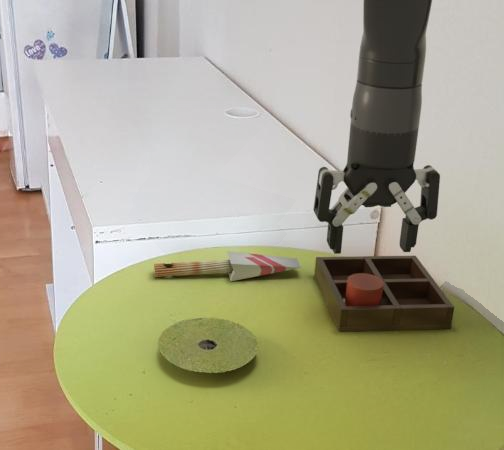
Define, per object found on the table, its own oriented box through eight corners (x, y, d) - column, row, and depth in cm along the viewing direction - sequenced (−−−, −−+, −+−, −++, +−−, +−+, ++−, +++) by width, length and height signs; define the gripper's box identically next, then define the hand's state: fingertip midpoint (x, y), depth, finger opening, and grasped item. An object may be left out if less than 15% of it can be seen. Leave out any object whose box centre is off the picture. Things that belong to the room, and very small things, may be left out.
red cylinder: (373, 300, 97) (377, 272, 95) (384, 318, 93) (388, 289, 91) (340, 301, 96) (343, 273, 95) (349, 318, 92) (352, 290, 91)
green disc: (163, 328, 91) (163, 314, 90) (256, 332, 90) (257, 318, 90) (152, 383, 81) (152, 368, 80) (257, 389, 80) (258, 374, 79)
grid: (412, 275, 105) (415, 255, 104) (450, 329, 92) (454, 307, 91) (313, 276, 104) (315, 256, 103) (338, 331, 91) (341, 309, 90)
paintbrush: (302, 259, 101) (154, 267, 100) (301, 277, 103) (154, 285, 101) (297, 247, 105) (153, 254, 104) (296, 264, 106) (154, 272, 105)
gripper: (330, 131, 81) (319, 266, 87) (459, 129, 82) (438, 262, 88) (315, 112, 87) (306, 238, 94) (434, 111, 88) (417, 235, 95)
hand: (370, 250), depth 91 cm, fingers open, 8 cm apart
